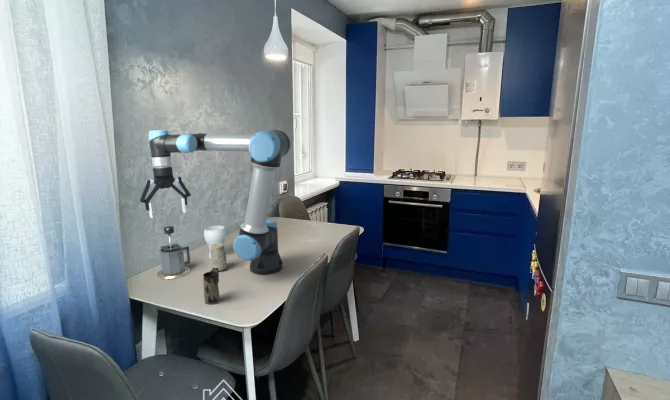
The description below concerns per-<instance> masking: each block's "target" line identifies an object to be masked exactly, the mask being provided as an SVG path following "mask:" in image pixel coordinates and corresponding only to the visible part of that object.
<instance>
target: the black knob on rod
mask: <svg viewBox="0 0 670 400" xmlns="http://www.w3.org/2000/svg"><path fill="white" fill-rule="evenodd" d="M163 233H164V234H165V235H168V243H169V244H168V245H170V248H172V244H173V243H172V234H173V233H175V228H174V226H173V225H170V226H169V225H167V226H165V227H163ZM171 252H172V251H171Z"/></svg>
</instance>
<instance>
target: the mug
mask: <svg viewBox="0 0 670 400" xmlns="http://www.w3.org/2000/svg"><path fill="white" fill-rule="evenodd" d="M219 273H220V272H219V271H218V268H213V267H212V269H211V270H210V271H207V272H205V273H203V275H202V276H203V278H202V281H203V282H202V283H203V284H202V285H203V297H204V304H205V305H217V304H218V303H220V302H221V296H220V290H219V289H220V288H219V281H220V280H219V279H220V276H219V275H220V274H219Z"/></svg>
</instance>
